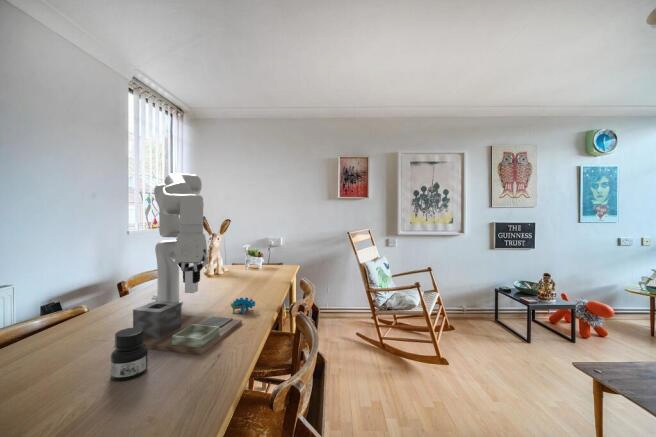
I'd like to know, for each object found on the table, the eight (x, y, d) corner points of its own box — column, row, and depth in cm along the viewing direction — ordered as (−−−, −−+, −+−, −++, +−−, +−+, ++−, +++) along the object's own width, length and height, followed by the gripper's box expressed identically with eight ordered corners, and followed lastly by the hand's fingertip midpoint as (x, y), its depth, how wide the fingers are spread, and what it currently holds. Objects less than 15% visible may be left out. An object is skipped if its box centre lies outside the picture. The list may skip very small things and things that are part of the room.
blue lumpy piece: (257, 305, 144) (252, 294, 137) (256, 317, 140) (250, 307, 133) (235, 308, 145) (228, 297, 137) (233, 319, 140) (226, 310, 133)
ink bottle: (104, 384, 81) (104, 340, 80) (113, 368, 89) (113, 328, 89) (147, 377, 85) (146, 335, 84) (151, 362, 93) (151, 324, 92)
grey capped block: (189, 294, 103) (189, 268, 103) (181, 293, 104) (181, 267, 104) (200, 290, 109) (200, 265, 109) (193, 289, 110) (193, 264, 109)
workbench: (114, 345, 104) (114, 313, 104) (171, 317, 132) (171, 292, 131) (201, 355, 98) (201, 321, 98) (241, 323, 126) (242, 297, 125)
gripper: (163, 229, 104) (163, 283, 104) (206, 231, 101) (206, 286, 101) (178, 228, 111) (178, 278, 112) (218, 229, 108) (218, 281, 108)
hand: (191, 281), depth 106 cm, fingers closed on grey capped block, 3 cm apart
